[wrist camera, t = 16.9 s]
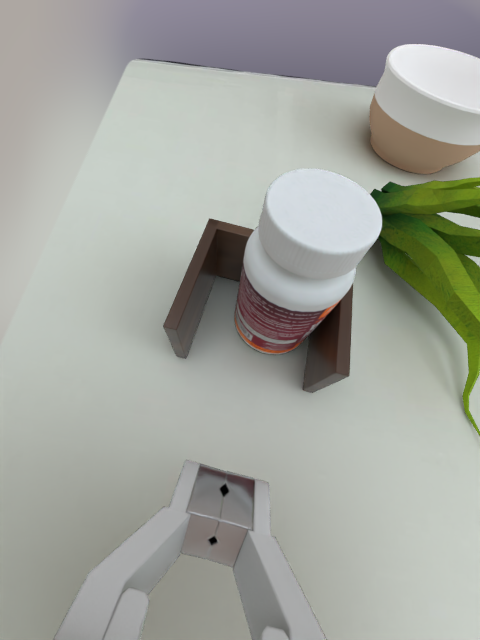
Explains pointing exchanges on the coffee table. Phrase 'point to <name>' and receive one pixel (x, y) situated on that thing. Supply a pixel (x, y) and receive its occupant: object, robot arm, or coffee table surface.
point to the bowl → (426, 108)
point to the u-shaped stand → (226, 261)
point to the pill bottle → (302, 256)
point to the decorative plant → (437, 254)
